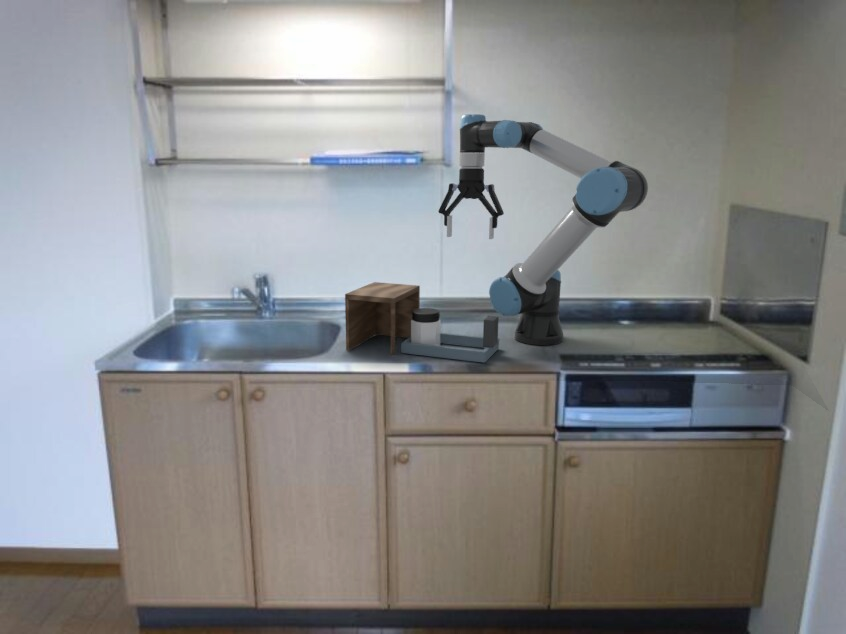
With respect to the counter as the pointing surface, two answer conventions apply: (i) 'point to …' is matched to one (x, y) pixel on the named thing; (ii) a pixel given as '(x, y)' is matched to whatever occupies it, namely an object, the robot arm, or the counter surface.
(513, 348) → the counter surface
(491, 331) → the tray
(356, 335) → the open box
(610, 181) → the robot arm
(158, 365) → the counter surface
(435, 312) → the jar
